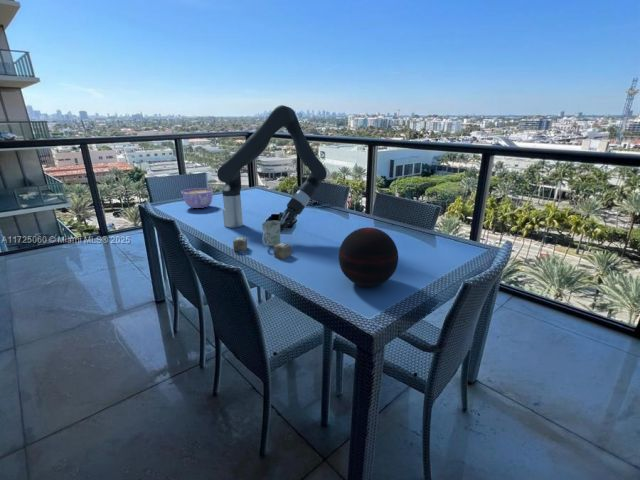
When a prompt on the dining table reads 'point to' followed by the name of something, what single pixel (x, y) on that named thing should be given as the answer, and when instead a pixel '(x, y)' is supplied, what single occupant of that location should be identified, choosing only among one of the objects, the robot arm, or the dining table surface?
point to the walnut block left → (240, 244)
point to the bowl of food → (198, 197)
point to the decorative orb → (368, 257)
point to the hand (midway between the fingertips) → (277, 232)
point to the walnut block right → (282, 250)
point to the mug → (271, 232)
